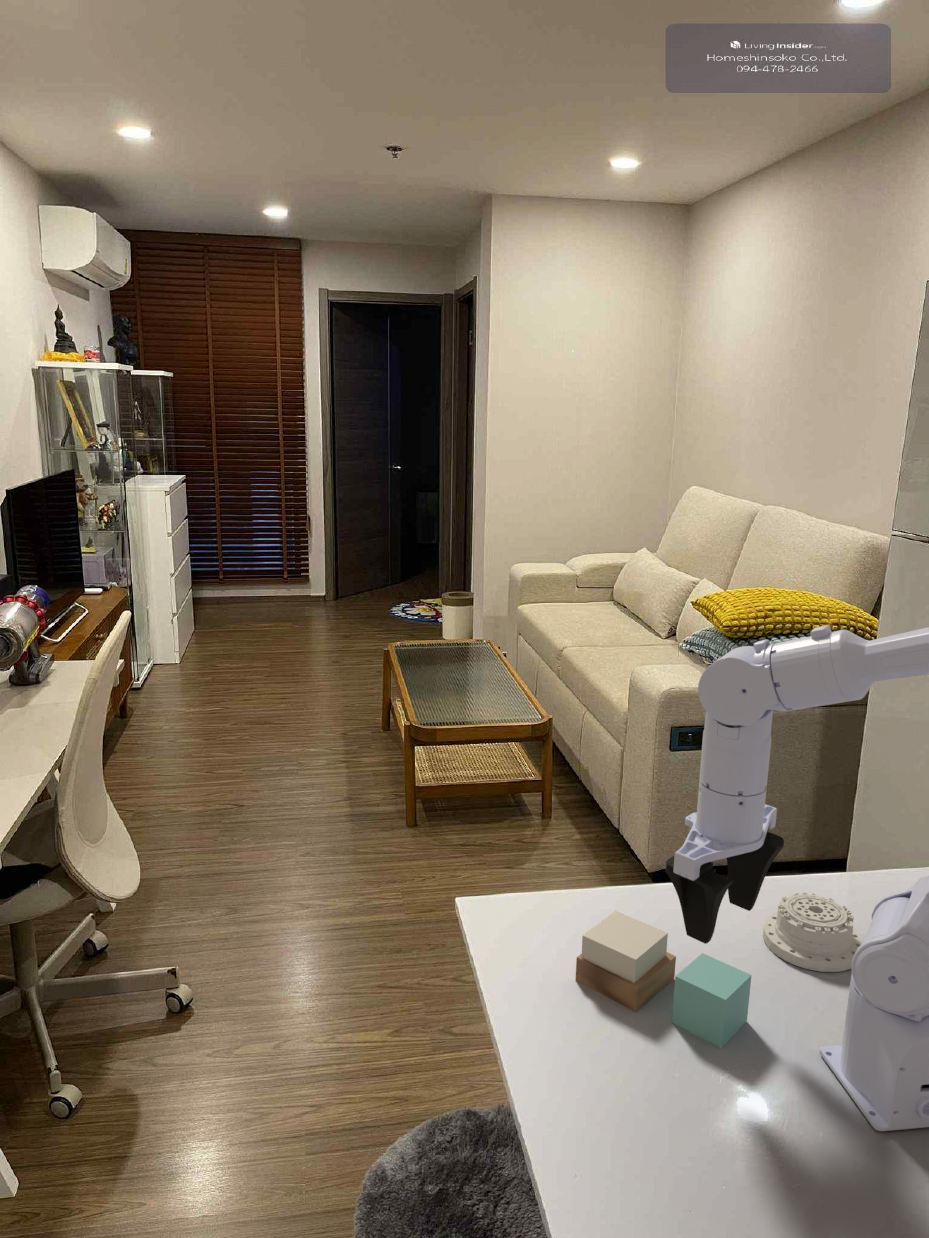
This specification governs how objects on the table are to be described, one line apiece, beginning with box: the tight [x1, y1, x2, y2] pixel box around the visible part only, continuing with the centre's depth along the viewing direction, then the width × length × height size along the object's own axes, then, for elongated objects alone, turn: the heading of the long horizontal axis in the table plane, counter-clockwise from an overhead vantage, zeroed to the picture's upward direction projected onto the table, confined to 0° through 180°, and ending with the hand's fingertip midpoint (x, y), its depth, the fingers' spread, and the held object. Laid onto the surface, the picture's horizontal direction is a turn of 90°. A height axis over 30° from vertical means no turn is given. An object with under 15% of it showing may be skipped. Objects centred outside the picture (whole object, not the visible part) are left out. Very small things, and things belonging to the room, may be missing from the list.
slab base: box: [575, 952, 677, 1013], centre depth 93 cm, size 7×7×3 cm
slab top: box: [581, 910, 669, 983], centre depth 92 cm, size 6×6×2 cm
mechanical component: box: [762, 892, 863, 973], centre depth 99 cm, size 10×4×10 cm
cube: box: [671, 952, 752, 1049], centre depth 86 cm, size 5×5×5 cm
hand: (720, 921), depth 85 cm, fingers open, 7 cm apart
